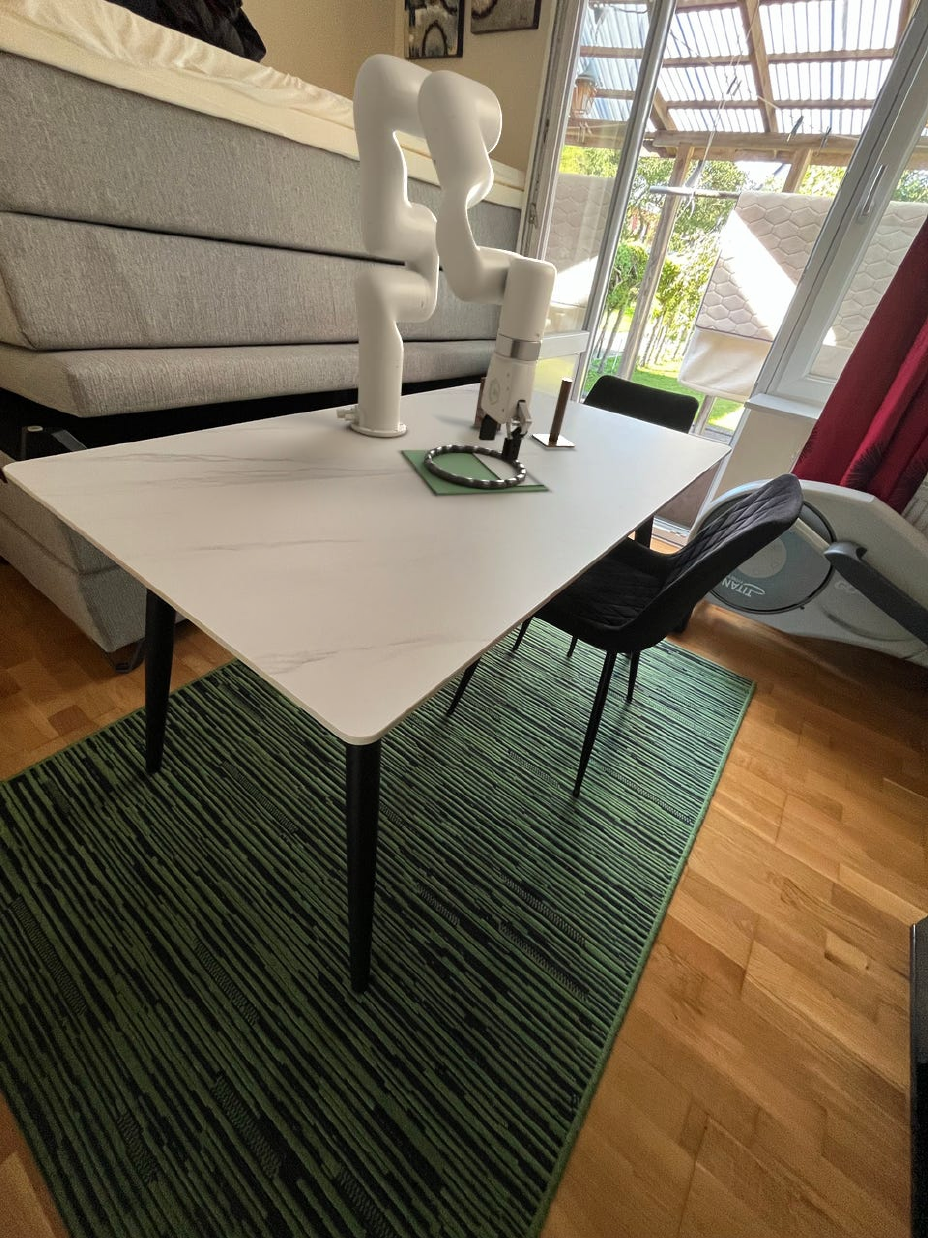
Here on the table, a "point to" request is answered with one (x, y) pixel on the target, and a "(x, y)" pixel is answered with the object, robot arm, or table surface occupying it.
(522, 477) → the ring
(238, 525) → the table surface
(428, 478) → the mat
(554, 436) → the post
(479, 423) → the box
